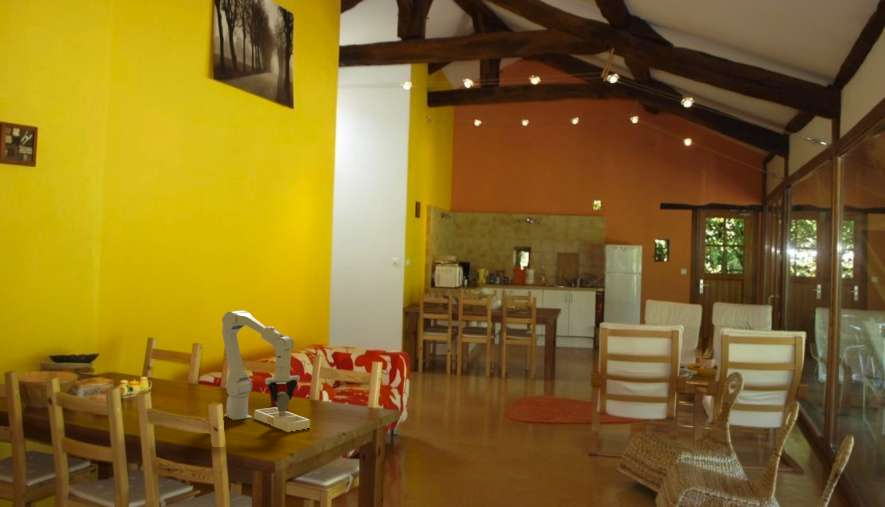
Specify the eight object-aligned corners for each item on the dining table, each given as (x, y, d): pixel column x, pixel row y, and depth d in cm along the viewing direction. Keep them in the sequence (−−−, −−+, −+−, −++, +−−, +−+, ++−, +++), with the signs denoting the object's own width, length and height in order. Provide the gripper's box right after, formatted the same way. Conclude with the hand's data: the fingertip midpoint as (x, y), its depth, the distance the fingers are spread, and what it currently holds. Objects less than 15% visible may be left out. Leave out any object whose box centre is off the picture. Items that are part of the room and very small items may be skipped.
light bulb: (278, 418, 290) (278, 393, 291) (272, 417, 295) (271, 391, 296) (292, 417, 294) (292, 391, 294) (286, 415, 299) (285, 390, 299)
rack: (253, 418, 302) (253, 410, 302) (275, 415, 308) (275, 407, 308) (287, 432, 281) (287, 423, 281) (309, 428, 288) (309, 419, 288)
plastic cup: (276, 409, 319) (277, 382, 319) (260, 405, 326) (261, 379, 325) (295, 405, 328) (296, 379, 328) (279, 402, 334) (280, 376, 334)
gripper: (271, 369, 287) (270, 404, 287) (303, 366, 297) (302, 399, 297) (262, 367, 292) (261, 401, 292) (294, 364, 302) (293, 396, 302)
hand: (282, 400), depth 295 cm, fingers closed on light bulb, 6 cm apart
